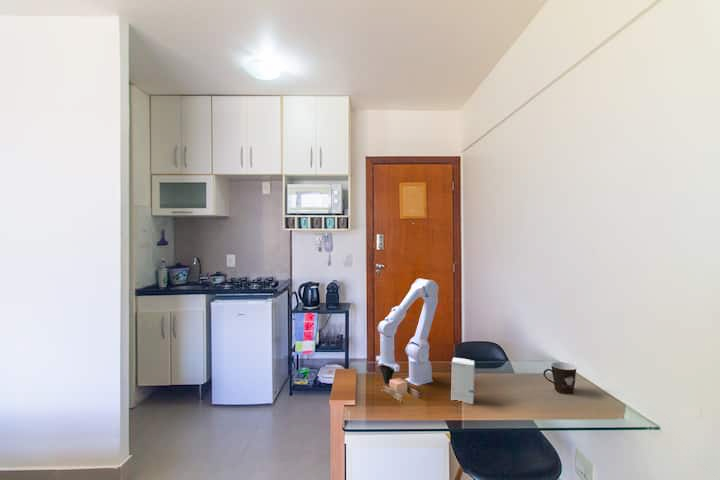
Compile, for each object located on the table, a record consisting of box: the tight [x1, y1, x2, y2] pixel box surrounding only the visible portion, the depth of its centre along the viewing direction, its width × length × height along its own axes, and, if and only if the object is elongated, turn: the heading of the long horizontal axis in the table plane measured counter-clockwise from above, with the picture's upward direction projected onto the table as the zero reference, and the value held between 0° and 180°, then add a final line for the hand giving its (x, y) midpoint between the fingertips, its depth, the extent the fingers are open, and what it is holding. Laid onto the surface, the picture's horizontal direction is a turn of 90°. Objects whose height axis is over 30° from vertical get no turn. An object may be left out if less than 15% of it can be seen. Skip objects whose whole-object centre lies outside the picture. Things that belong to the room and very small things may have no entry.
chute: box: [382, 384, 420, 403], centre depth 129 cm, size 12×8×2 cm
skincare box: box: [450, 357, 476, 405], centre depth 125 cm, size 8×6×15 cm
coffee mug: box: [543, 361, 577, 395], centre depth 132 cm, size 12×9×10 cm
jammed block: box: [388, 376, 408, 395], centre depth 130 cm, size 5×5×5 cm
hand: (387, 383), depth 137 cm, fingers closed
